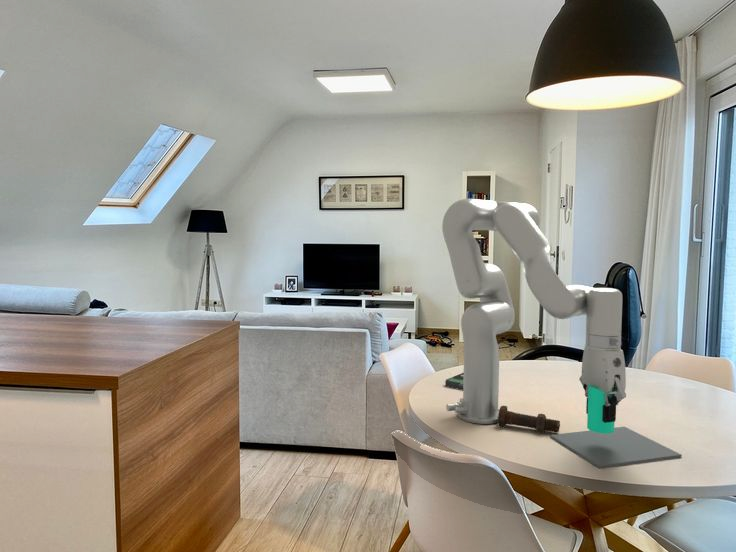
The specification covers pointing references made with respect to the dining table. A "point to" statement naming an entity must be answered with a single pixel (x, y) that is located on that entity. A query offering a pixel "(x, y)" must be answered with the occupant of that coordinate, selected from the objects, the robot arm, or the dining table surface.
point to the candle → (597, 412)
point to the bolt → (527, 421)
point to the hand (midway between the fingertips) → (600, 416)
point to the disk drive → (455, 381)
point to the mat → (614, 447)
